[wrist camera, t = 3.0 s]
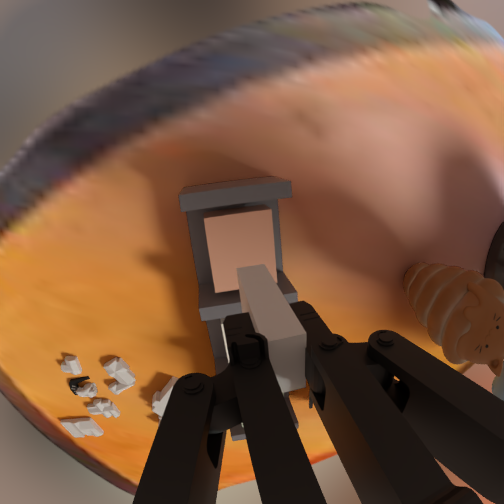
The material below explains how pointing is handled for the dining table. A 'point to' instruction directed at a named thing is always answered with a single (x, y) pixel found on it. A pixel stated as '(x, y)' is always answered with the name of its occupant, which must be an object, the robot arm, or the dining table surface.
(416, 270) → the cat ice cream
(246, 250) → the brown flat block
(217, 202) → the keypad
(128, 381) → the white puzzle pieces
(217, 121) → the dining table surface
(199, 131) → the dining table surface
